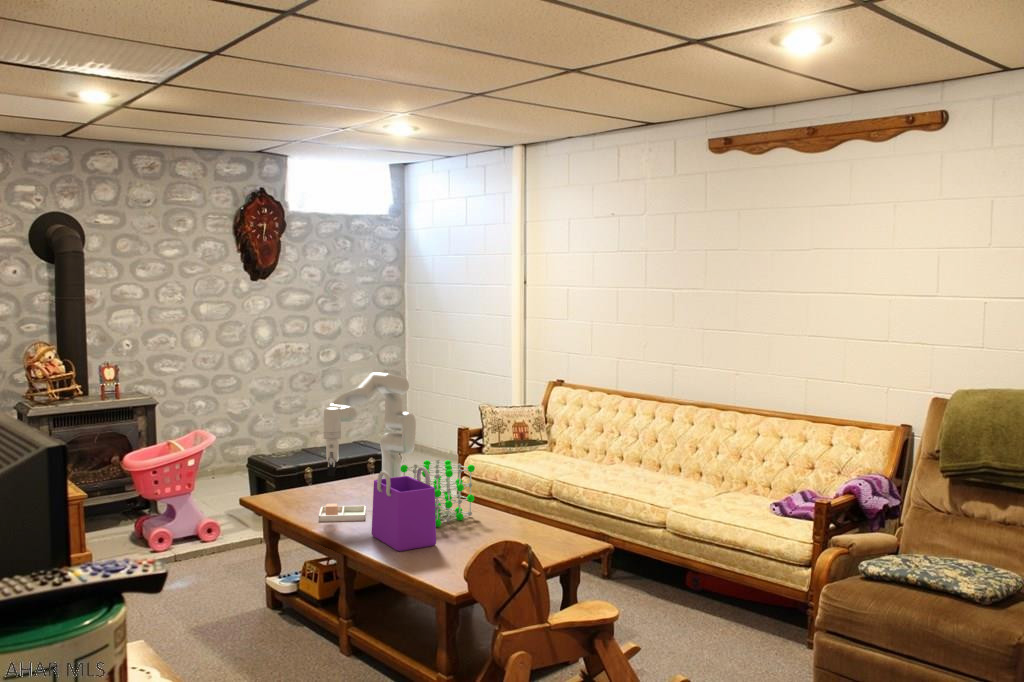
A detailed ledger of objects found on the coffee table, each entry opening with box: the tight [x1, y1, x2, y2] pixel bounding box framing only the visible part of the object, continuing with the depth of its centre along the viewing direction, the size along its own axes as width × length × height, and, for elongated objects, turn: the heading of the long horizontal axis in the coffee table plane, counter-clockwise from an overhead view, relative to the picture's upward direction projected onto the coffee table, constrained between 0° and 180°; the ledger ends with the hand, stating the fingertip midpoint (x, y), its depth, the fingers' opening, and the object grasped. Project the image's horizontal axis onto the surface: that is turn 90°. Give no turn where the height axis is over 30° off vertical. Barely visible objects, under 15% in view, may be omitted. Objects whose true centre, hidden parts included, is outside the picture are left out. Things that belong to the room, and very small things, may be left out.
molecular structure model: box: [400, 458, 476, 528], centre depth 388 cm, size 24×25×24 cm
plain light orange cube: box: [325, 503, 339, 515], centre depth 386 cm, size 5×5×5 cm
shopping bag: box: [371, 466, 437, 552], centre depth 352 cm, size 28×22×30 cm
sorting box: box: [318, 505, 367, 522], centre depth 387 cm, size 20×16×3 cm
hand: (331, 473), depth 385 cm, fingers open, 9 cm apart
